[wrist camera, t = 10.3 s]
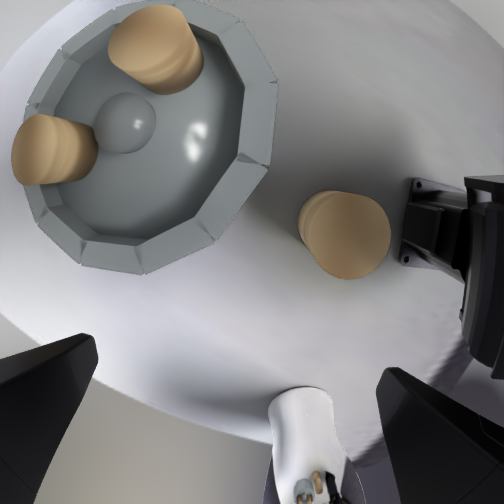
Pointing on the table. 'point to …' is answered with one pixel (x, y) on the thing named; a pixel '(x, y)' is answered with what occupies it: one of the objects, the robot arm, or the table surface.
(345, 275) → the bead
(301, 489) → the beer glass
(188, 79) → the bead
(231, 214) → the tray
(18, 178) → the tan short rounded cylinder
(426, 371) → the table surface
